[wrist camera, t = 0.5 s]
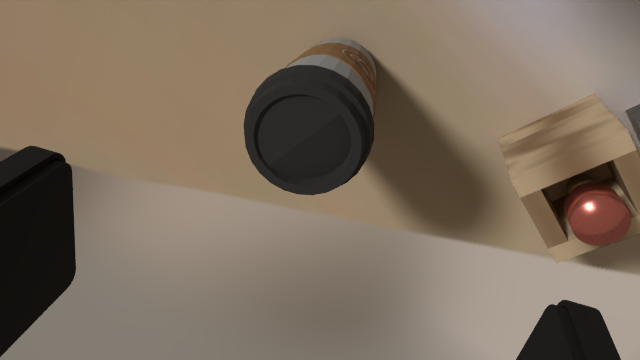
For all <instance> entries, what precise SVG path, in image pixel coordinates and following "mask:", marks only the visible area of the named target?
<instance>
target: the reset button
mask: <svg viewBox="0 0 640 360" xmlns="http://www.w3.org/2000/svg"><path fill="white" fill-rule="evenodd" d="M566 190H567V192H568V195H567V196H566V198H565V200H564V203H563V210H564V213H565V215H566V217H567V220H568V222H569V224H570V226H571V229H572V231H573V233H574V235H575V236H576V237H577V238H578V239H579V240H580V241H582V242H584V243H586V244H589V245H595V246H601V245H607V244H611V243H613V242H615V241H617V240H619V239H620V238H622V237H623V236H624V235H625V234H626V233H627V231H628V230H629V228H630V225H631V215H630V213H629V211H628V209H627V208H626V206H625V205H624V203H623V202H622V200H621V199H620V197H619V196H618V194H617V193H616V191H615V190H614V189H613V188H612V187H610V186H609V185H607V184H604V183H600V182H595V181H594V179H593V178H592V177H591V176H590V175H587V174H577V175H574V176H572V177H571V178H570V179H569V180H568V181H567V183H566Z"/></svg>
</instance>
